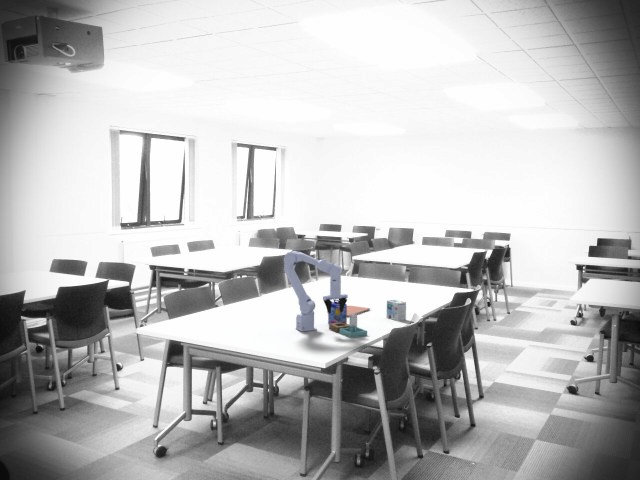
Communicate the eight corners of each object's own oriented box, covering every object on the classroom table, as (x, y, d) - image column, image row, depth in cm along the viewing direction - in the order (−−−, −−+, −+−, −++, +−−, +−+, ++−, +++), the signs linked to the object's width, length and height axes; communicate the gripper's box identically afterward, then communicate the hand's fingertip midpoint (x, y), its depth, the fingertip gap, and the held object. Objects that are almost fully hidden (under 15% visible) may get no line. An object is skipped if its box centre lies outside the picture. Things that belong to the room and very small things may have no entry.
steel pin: (351, 334, 296) (352, 315, 296) (347, 332, 300) (348, 314, 299) (358, 333, 298) (358, 315, 298) (354, 332, 302) (354, 313, 301)
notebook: (347, 307, 374) (347, 304, 374) (370, 310, 365) (370, 307, 365) (325, 314, 351) (325, 311, 351) (349, 318, 342) (349, 315, 342)
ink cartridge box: (327, 323, 324) (327, 298, 323) (333, 322, 328) (333, 297, 327) (341, 326, 317) (341, 301, 316) (347, 324, 322) (347, 299, 321)
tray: (350, 337, 292) (350, 333, 292) (339, 333, 301) (339, 328, 301) (367, 335, 297) (367, 330, 297) (356, 331, 306) (356, 326, 306)
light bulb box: (386, 318, 341) (386, 300, 340) (394, 316, 345) (394, 299, 344) (397, 321, 332) (398, 303, 331) (406, 320, 336) (406, 302, 335)
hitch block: (337, 332, 302) (337, 327, 302) (329, 329, 310) (329, 323, 310) (351, 330, 307) (351, 325, 307) (342, 327, 315) (342, 322, 314)
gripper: (327, 289, 297) (327, 315, 298) (350, 287, 304) (350, 312, 305) (321, 287, 303) (320, 312, 304) (343, 285, 310) (343, 310, 311)
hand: (335, 312), depth 305 cm, fingers open, 7 cm apart
